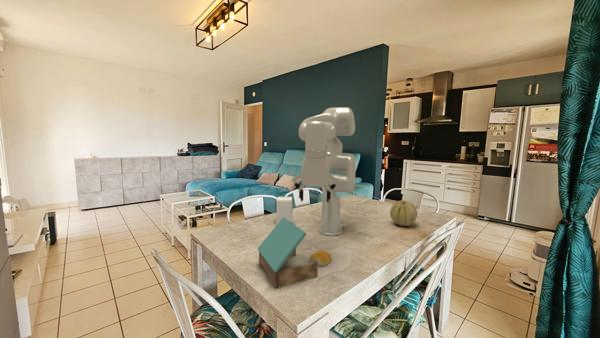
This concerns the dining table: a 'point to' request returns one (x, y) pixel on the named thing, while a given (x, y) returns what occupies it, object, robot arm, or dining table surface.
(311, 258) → the bread roll
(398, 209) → the cantaloupe
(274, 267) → the lid
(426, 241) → the dining table surface
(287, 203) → the supplement box
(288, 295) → the dining table surface
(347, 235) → the dining table surface
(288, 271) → the brown wooden box
